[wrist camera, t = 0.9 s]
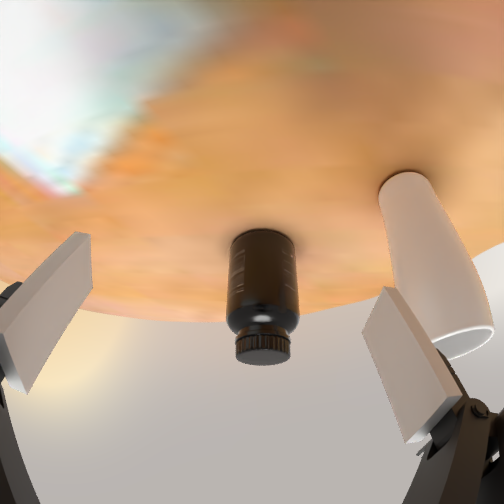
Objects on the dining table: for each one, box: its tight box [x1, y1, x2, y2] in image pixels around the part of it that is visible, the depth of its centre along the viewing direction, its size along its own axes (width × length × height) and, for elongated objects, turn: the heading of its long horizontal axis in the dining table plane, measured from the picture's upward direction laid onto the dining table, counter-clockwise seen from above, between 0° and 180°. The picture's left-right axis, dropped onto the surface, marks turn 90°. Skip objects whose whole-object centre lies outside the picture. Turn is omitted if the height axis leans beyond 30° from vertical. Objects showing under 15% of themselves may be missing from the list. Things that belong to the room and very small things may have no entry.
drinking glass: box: [378, 172, 495, 360], centre depth 22 cm, size 7×7×15 cm
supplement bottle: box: [226, 230, 300, 366], centre depth 30 cm, size 7×7×12 cm
